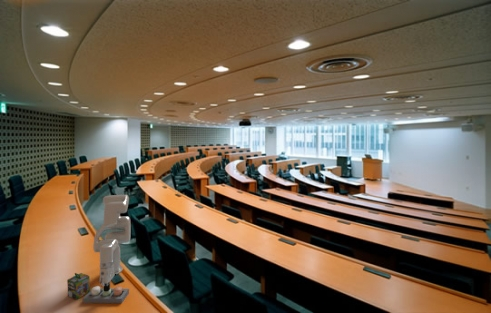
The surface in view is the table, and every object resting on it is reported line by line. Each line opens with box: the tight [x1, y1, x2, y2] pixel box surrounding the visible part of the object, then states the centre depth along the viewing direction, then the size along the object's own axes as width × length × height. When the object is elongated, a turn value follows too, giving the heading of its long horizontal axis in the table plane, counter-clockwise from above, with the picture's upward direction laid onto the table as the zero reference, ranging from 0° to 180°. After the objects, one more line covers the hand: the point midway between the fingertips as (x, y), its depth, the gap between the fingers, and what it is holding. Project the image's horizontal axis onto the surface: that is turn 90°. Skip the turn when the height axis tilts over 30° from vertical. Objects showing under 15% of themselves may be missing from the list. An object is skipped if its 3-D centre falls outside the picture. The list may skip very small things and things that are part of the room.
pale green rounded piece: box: [103, 287, 112, 297], centre depth 156 cm, size 5×5×4 cm
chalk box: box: [67, 272, 91, 301], centre depth 158 cm, size 9×9×15 cm
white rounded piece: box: [90, 285, 101, 296], centre depth 155 cm, size 5×5×4 cm
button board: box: [82, 287, 130, 304], centre depth 156 cm, size 24×10×3 cm, turn 92°
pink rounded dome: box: [113, 285, 123, 297], centre depth 156 cm, size 5×5×4 cm
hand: (106, 290), depth 155 cm, fingers closed
